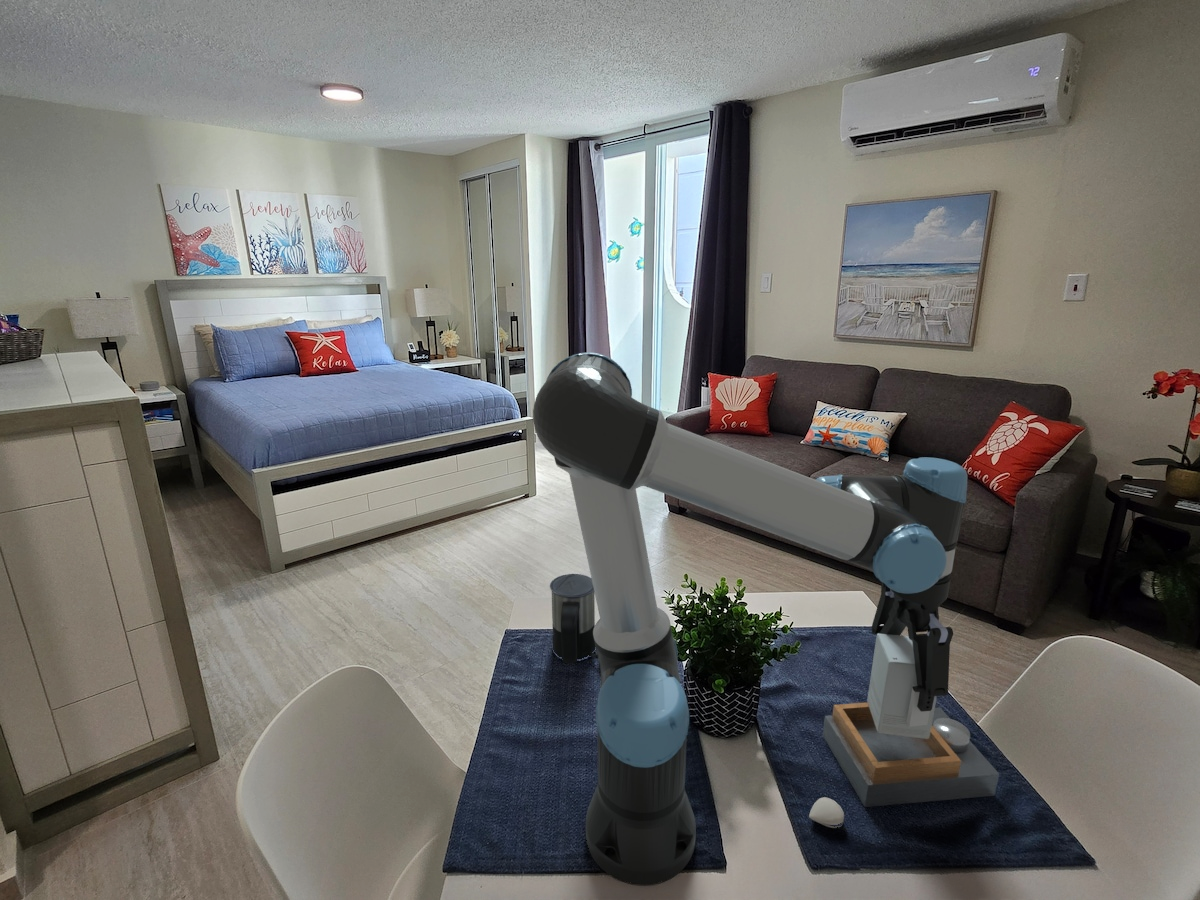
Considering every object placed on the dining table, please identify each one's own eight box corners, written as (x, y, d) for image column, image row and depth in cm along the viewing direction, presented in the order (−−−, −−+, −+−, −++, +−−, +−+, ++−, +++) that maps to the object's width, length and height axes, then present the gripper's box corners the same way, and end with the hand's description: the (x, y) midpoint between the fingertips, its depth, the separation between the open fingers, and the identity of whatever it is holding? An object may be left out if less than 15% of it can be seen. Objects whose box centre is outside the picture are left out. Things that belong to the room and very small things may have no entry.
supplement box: (930, 740, 90) (944, 667, 86) (876, 733, 91) (887, 661, 87) (916, 705, 97) (928, 636, 93) (865, 699, 98) (875, 631, 94)
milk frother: (548, 639, 129) (545, 576, 124) (620, 628, 132) (620, 566, 128) (560, 682, 116) (558, 613, 111) (640, 669, 119) (641, 601, 115)
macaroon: (849, 829, 86) (851, 815, 85) (817, 837, 85) (819, 823, 84) (830, 804, 90) (832, 790, 89) (800, 811, 89) (801, 798, 88)
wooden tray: (864, 807, 89) (870, 771, 87) (822, 735, 102) (826, 703, 100) (994, 795, 91) (1002, 760, 89) (936, 726, 104) (942, 694, 102)
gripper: (1000, 606, 76) (969, 754, 83) (904, 534, 96) (885, 657, 103) (942, 610, 76) (916, 758, 82) (858, 536, 96) (842, 660, 103)
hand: (899, 702), depth 93 cm, fingers closed on supplement box, 8 cm apart
